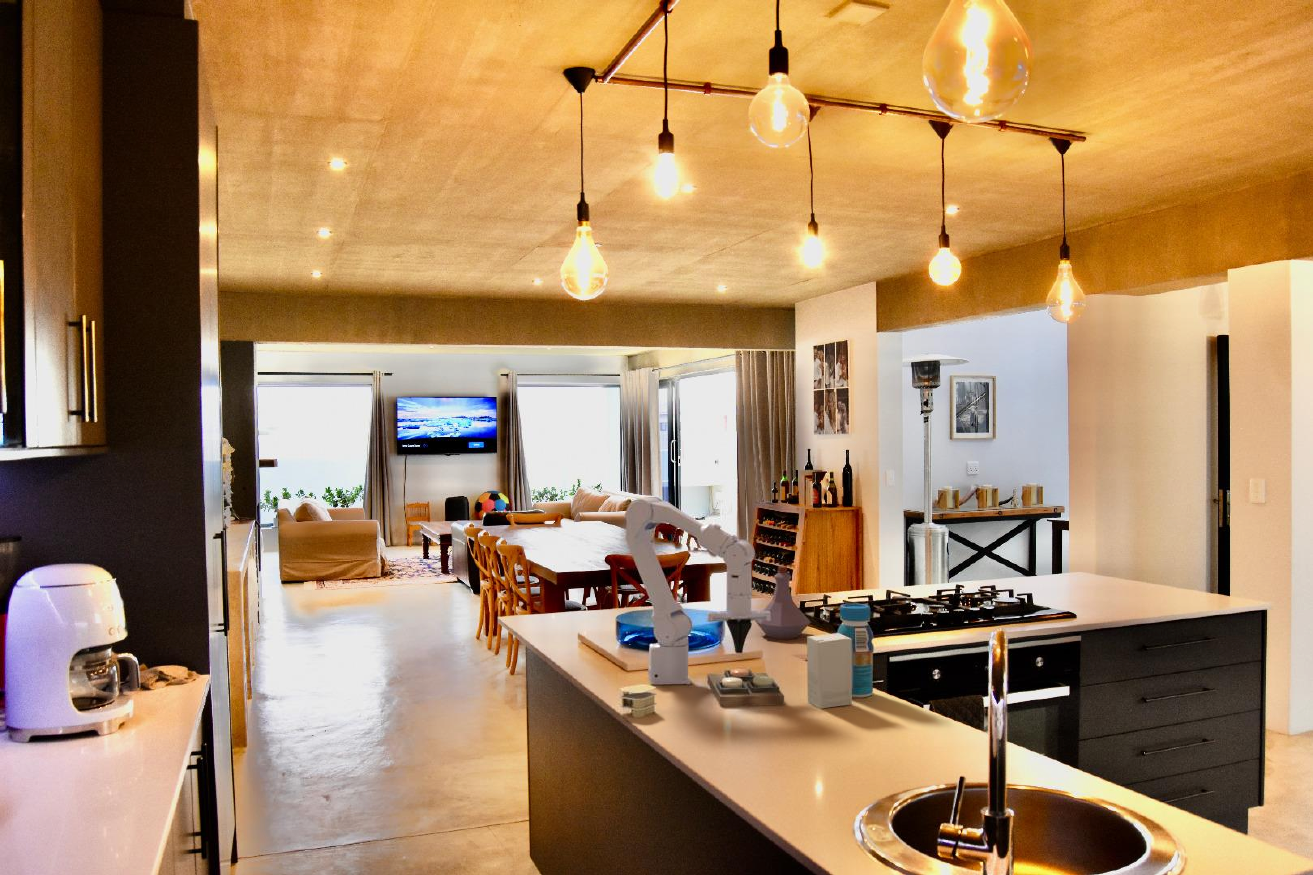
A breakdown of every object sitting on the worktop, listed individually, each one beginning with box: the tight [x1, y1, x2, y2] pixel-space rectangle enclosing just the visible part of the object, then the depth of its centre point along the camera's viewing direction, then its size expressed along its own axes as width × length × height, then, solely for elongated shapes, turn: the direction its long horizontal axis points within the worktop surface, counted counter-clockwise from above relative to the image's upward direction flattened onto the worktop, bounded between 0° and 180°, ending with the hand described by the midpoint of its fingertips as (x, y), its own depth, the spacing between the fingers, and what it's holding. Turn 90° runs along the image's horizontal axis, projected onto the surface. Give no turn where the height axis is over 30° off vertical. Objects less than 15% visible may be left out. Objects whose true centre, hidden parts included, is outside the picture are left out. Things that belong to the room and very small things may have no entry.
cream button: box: [722, 677, 742, 688], centre depth 218 cm, size 4×4×1 cm
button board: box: [707, 669, 785, 707], centre depth 223 cm, size 14×20×3 cm
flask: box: [755, 565, 812, 640], centre depth 286 cm, size 16×16×20 cm
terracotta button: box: [730, 668, 749, 676], centre depth 229 cm, size 4×4×1 cm
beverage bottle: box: [836, 602, 875, 699], centre depth 223 cm, size 8×8×20 cm
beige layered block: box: [619, 683, 657, 718], centre depth 207 cm, size 10×9×6 cm
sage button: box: [753, 676, 774, 687], centre depth 220 cm, size 4×4×1 cm
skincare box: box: [806, 632, 853, 710], centre depth 215 cm, size 8×6×15 cm
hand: (738, 652), depth 227 cm, fingers closed
